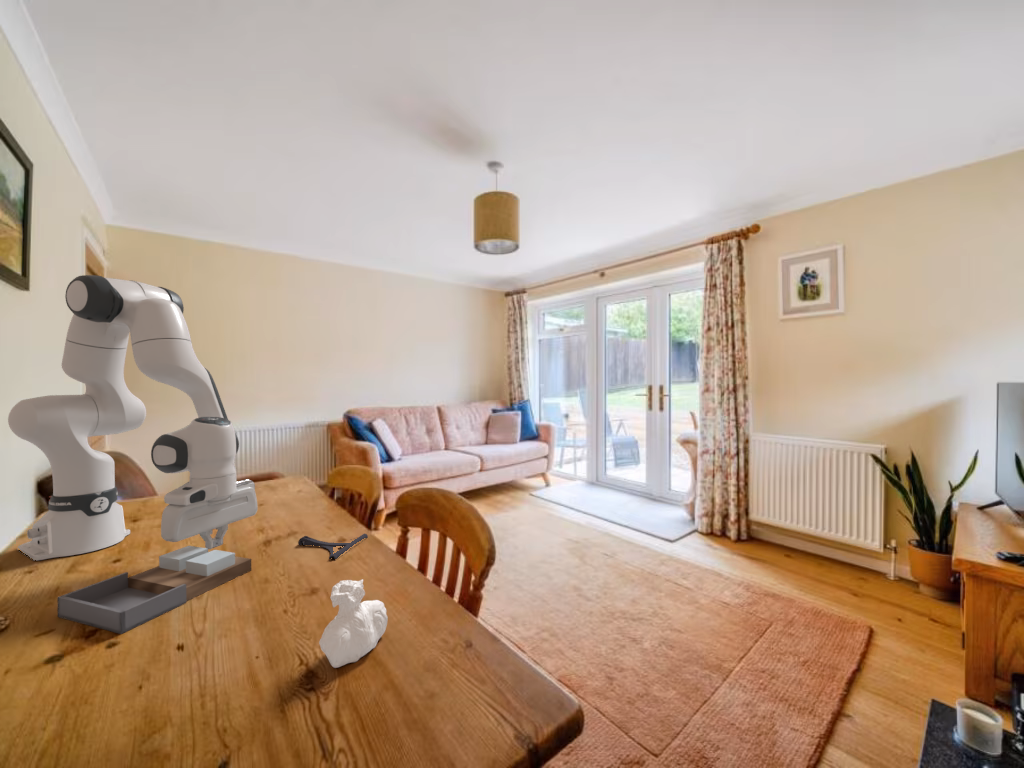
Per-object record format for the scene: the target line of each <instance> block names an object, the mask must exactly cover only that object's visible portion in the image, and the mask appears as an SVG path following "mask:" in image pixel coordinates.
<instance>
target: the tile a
mask: <svg viewBox="0 0 1024 768" xmlns="http://www.w3.org/2000/svg"><path fill="white" fill-rule="evenodd" d="M208 552H209V549H207V548H205V547H200V546H193V545H187V546H184V547H182V548H181V547H180V548H178V549H175V550H172V551H170V552H168V553H165V554H161V555H159V556H158V566H159V568H164V569H170V570H175V571H181V570H184V569H186V561H187V560H190V559H192V558H195V557H197V556H200V555H202V554H205V553H208Z"/></svg>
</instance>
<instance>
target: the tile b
mask: <svg viewBox="0 0 1024 768" xmlns="http://www.w3.org/2000/svg"><path fill="white" fill-rule="evenodd" d="M235 556H236V553H235V552H233V551H232V552H231V551H226V550H220V549H219V550H218V549H213V550H210V551H208V553H205V554H202V555H200V556H197V557H195V558H192V559H190V560H187V561H186V573H191V574H196V575H201V576H209V575H212V574H214V573H216V572H218V571H221V570H223V569H225V568H227V567H230V566H232V565H234V564H235Z"/></svg>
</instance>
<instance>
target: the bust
mask: <svg viewBox="0 0 1024 768" xmlns="http://www.w3.org/2000/svg"><path fill="white" fill-rule="evenodd" d="M363 583H364V579H360V580H352V579H346V580H345V579H344V580H339V582H337V583H336V584H334V585H333V586H332V588H331V594H330V597H329V599H330V600H331V603H332V608H335V607H337V606H338V612H337V615H335V616H334V618H333V619H332V620H331V621H330V622H329V623H328V624H327V625H326V627H325V628H324V630H323V633H322V634H321V638H320V639H319V641H318V644H319V646H320V649H321V651H322V652H323V653H324V654H325V656H326V658H327V660H328V662H329V664H330V666H332V667H333V668H334V669H336V668H340V667H342V666H345V665H347V664H350V663H356V662H359V660H360V659H361V658H362V657H364V656H366V655H367V654H368V653H369V652H370V651H372V650H373V649H375V648H376V646H377V645H378V641H379V640H380V639H381V638H382V636H383V635H384V634H385V632H386V629H387V625H388V619H389V618H388V615H387V608H386V607H385V603H384V602H383V601H380V600H379V599H373V600H364V601H362V599H363V598H364V596H366V591H365V589H364V586H365V585H364V584H363Z"/></svg>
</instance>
